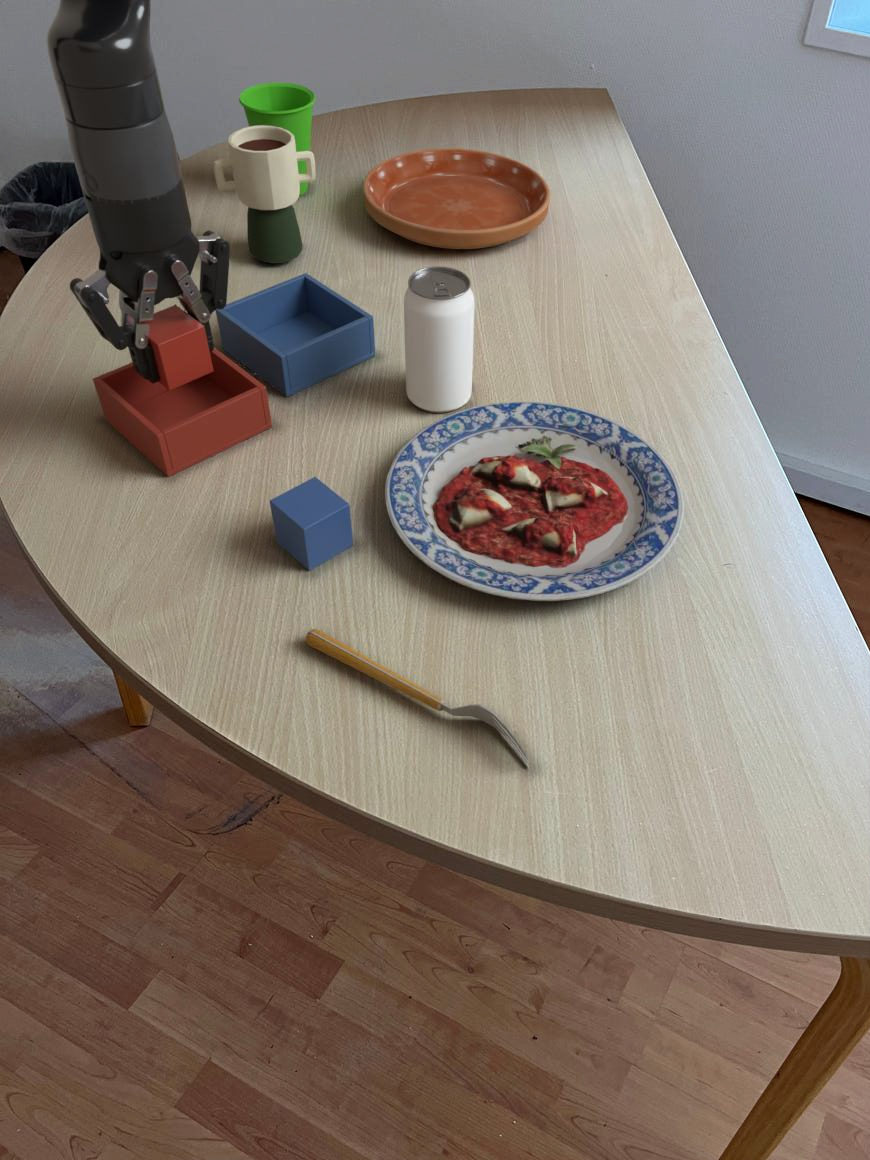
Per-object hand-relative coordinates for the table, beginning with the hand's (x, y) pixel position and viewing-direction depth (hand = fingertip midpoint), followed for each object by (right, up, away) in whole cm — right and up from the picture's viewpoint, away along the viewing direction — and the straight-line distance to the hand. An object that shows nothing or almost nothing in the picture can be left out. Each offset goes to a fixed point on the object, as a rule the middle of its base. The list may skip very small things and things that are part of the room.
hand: (176, 366), depth 86 cm
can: (+23, 0, +9) cm, 25 cm away
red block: (0, 0, 0) cm, 0 cm away
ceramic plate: (+32, -13, -2) cm, 35 cm away
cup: (+3, +33, +37) cm, 50 cm away
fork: (+23, -29, -16) cm, 40 cm away
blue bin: (+9, +5, +13) cm, 16 cm away
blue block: (+13, -16, -6) cm, 22 cm away
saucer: (+24, +28, +34) cm, 51 cm away
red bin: (0, -4, +5) cm, 6 cm away
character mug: (+3, +20, +26) cm, 33 cm away
